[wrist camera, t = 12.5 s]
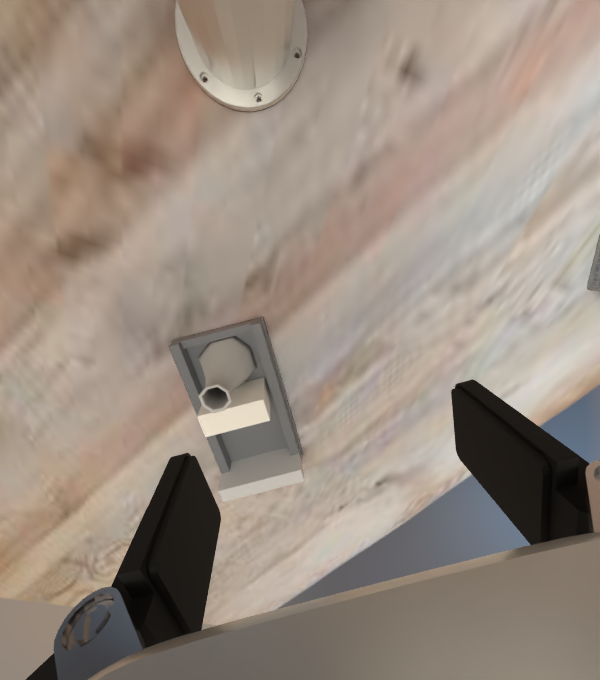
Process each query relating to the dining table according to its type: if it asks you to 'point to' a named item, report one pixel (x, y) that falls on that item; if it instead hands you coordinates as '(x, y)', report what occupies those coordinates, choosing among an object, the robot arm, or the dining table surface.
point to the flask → (224, 371)
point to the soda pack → (595, 271)
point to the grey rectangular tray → (252, 441)
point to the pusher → (239, 409)
